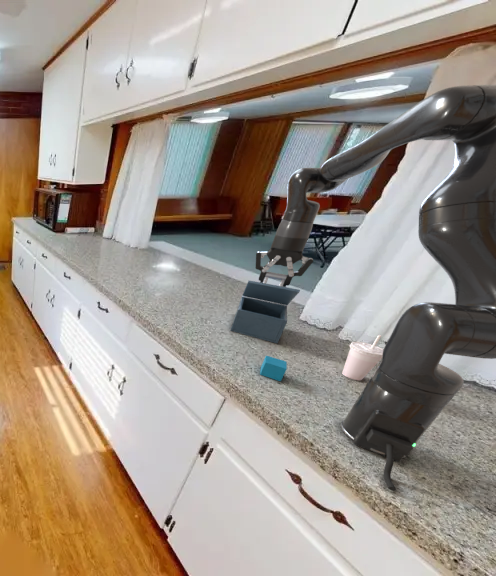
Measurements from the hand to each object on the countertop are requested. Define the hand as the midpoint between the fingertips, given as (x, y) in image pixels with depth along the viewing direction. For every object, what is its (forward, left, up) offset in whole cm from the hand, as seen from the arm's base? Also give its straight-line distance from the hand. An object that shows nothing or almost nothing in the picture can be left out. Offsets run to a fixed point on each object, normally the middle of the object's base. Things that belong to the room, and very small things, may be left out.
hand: (272, 283), depth 100 cm
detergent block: (-29, -5, -18) cm, 34 cm away
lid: (+1, 0, -4) cm, 5 cm away
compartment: (0, 0, -18) cm, 18 cm away
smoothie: (-15, -22, -18) cm, 32 cm away
